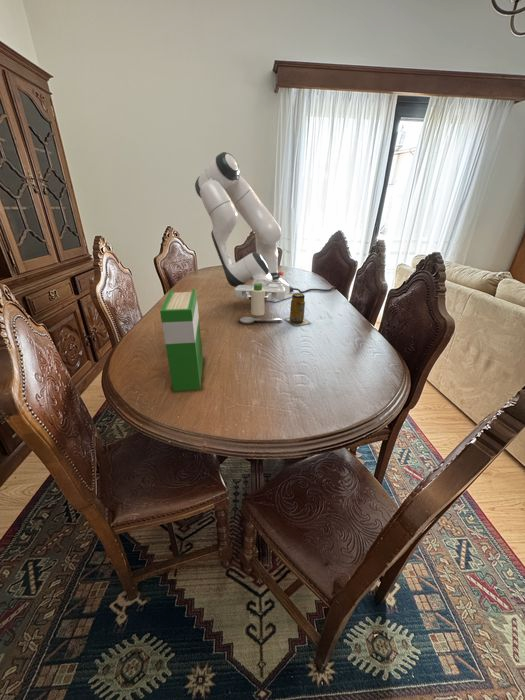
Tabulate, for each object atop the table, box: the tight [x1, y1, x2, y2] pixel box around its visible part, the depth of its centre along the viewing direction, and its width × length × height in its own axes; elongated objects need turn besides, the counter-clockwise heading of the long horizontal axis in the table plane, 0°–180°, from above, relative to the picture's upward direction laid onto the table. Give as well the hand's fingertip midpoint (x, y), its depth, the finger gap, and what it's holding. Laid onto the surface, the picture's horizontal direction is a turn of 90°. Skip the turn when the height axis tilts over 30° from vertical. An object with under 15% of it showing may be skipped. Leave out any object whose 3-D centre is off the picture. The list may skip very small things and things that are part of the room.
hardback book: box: [159, 288, 204, 392], centre depth 83 cm, size 18×7×24 cm, turn 8°
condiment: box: [285, 292, 310, 326], centre depth 124 cm, size 7×8×12 cm
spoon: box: [239, 316, 283, 325], centre depth 125 cm, size 18×6×1 cm, turn 90°
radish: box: [250, 283, 266, 317], centre depth 109 cm, size 5×5×12 cm
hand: (257, 298), depth 108 cm, fingers closed on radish, 5 cm apart
